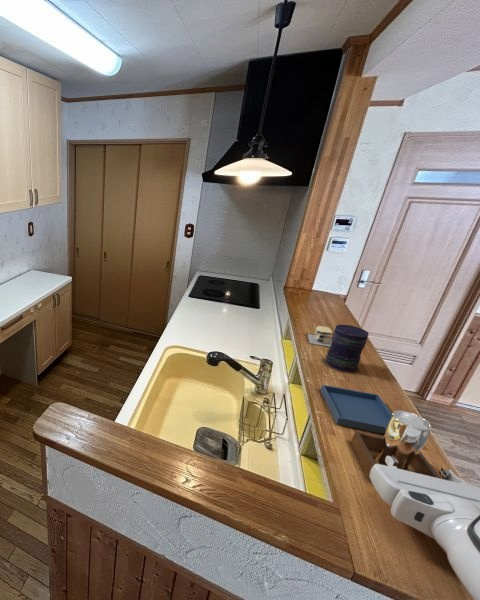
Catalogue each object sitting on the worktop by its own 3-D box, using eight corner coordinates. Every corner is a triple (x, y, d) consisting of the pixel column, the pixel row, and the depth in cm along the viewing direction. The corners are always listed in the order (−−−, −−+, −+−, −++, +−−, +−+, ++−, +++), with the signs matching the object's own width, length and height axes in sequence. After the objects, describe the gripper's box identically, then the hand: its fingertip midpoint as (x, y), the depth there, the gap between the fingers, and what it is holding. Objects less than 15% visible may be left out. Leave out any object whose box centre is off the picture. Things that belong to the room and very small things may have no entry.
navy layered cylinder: (333, 356, 131) (344, 322, 125) (362, 368, 122) (374, 332, 117) (319, 362, 126) (329, 327, 121) (347, 374, 118) (360, 338, 113)
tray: (375, 400, 105) (378, 394, 104) (402, 438, 90) (405, 431, 89) (320, 390, 110) (322, 384, 109) (336, 424, 95) (338, 417, 94)
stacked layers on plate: (307, 333, 149) (310, 323, 147) (330, 337, 145) (334, 326, 143) (309, 343, 141) (312, 331, 139) (334, 347, 137) (338, 336, 135)
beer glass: (371, 468, 80) (391, 420, 75) (372, 451, 85) (391, 405, 80) (409, 485, 76) (434, 435, 71) (409, 466, 81) (432, 419, 75)
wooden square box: (409, 456, 84) (415, 444, 82) (438, 497, 73) (445, 485, 72) (350, 442, 88) (354, 431, 87) (369, 480, 77) (374, 467, 76)
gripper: (544, 531, 55) (486, 468, 67) (393, 492, 62) (365, 441, 74) (526, 555, 58) (473, 489, 70) (383, 515, 65) (357, 462, 77)
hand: (416, 464), depth 72 cm, fingers open, 8 cm apart
